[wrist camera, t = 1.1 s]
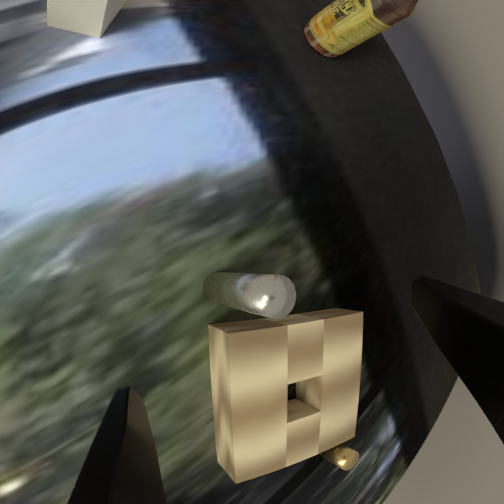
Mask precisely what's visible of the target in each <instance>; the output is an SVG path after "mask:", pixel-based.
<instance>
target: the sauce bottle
mask: <svg viewBox="0 0 504 504" xmlns="http://www.w3.org/2000/svg"><path fill="white" fill-rule="evenodd" d="M417 2H418V0H335V1H334V2H332V3H331V4H330V5H328V6H327V7H326V8H324V9H323V10H322V11H321V12H319V13H318V14H317V15H315V16H314V17H313V18H312V19H311V21H310V22H309V23H307V25H306V26H305V35H306V39H307V41H308V43H309V44H310V45H311V46H312V47H313V48H314V49H315V50H316V51H317V52H319V53H320V54H322V55H324V56H327V57H331V58H334V57H337V56H338V55H340V54H343V53H345V52H347V51H348V50H350V49H352V48H354V47H355V46H357V45H359V44H360V43H362V42H364V41H366V40H367V39H369V38H371V37H373V36H375V35H376V34H378V33H380V32H382V31H384V30H386V29H387V28H389V27H391V26H393V25H394V24H395V23H397V22H399V21H401V20H403V19H405V18H407V17H408V16H410V14H412V12H413V11H414V8H415V6H416V4H417Z"/></svg>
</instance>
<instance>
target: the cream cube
mask: <svg viewBox="0 0 504 504" xmlns="http://www.w3.org/2000/svg"><path fill="white" fill-rule="evenodd" d="M126 2H127V0H47V26H50V27H55V28H60V29H64V30H68V31H73V32H77V33H81V34H85V35H88V36H92V37H96V38H100V37H101V36H102V35H103V33H104V32H105V30H106V29H107V27H108V26H109V24H110V23H111V22H112V20H113V19H114V18H115V16H116V15H117V13H118V12H119V11H120V9H121V8H122V7H123V6H124V4H125V3H126Z"/></svg>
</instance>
